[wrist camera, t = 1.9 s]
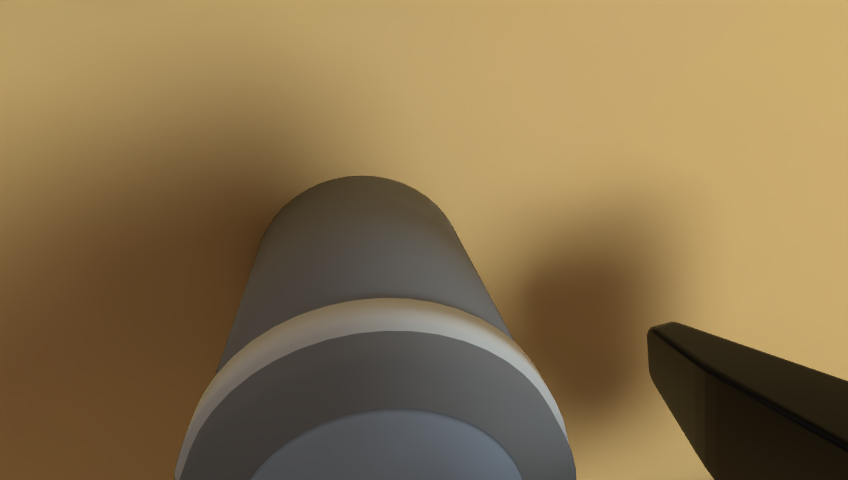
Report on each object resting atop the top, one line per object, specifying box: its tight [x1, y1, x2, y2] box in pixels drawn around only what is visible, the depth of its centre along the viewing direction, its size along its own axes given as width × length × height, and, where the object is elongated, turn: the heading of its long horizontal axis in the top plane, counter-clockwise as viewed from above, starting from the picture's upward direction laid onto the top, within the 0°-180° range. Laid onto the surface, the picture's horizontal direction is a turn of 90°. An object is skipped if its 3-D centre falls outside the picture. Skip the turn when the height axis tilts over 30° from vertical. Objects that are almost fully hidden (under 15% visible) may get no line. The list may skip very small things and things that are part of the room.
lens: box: [174, 176, 576, 480], centre depth 10 cm, size 5×5×7 cm
